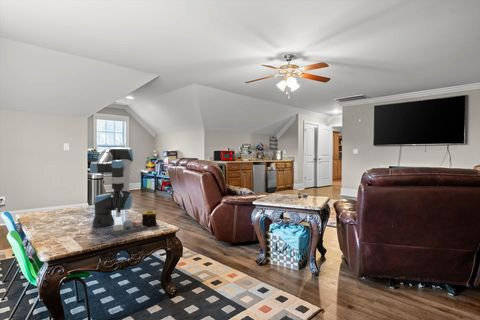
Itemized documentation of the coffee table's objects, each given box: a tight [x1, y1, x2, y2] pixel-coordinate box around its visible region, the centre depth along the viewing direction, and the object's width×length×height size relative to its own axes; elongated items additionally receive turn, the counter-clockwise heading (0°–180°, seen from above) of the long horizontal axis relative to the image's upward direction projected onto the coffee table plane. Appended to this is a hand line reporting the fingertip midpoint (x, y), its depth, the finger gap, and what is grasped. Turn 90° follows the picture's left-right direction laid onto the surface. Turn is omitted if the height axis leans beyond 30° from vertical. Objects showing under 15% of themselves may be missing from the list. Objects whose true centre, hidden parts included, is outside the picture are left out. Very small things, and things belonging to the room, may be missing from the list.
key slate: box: [122, 220, 134, 229], centre depth 194 cm, size 5×5×5 cm
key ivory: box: [113, 224, 124, 231], centre depth 189 cm, size 5×5×5 cm
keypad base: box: [108, 225, 148, 237], centre depth 194 cm, size 12×22×2 cm, turn 140°
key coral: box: [132, 220, 142, 227], centre depth 199 cm, size 5×5×5 cm
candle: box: [141, 210, 157, 228], centre depth 209 cm, size 10×10×10 cm
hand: (118, 216), depth 189 cm, fingers closed
